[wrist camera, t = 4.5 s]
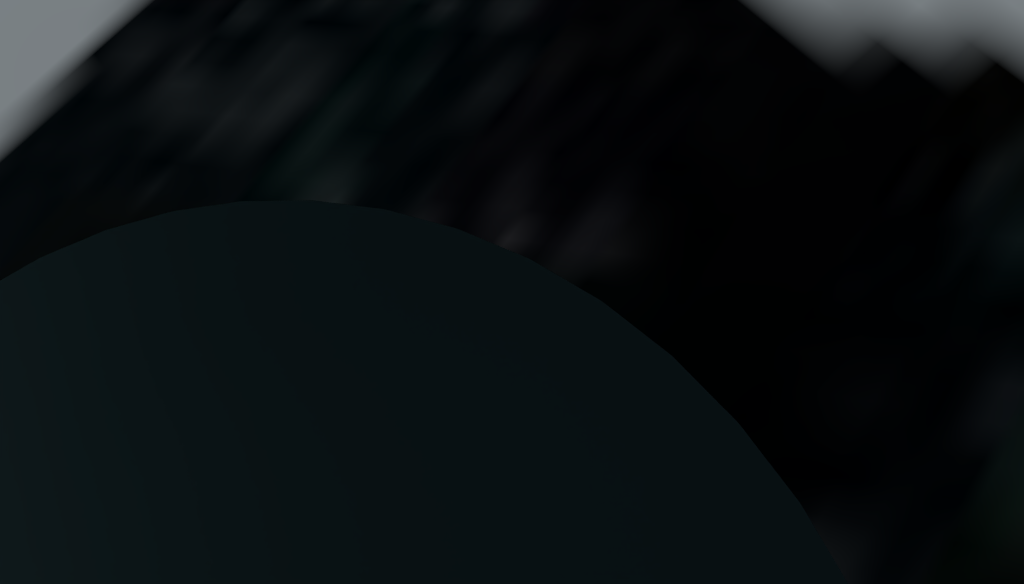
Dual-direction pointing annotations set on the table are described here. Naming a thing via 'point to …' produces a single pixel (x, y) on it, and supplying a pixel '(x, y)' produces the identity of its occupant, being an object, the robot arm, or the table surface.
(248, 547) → the long peg
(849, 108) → the table surface
